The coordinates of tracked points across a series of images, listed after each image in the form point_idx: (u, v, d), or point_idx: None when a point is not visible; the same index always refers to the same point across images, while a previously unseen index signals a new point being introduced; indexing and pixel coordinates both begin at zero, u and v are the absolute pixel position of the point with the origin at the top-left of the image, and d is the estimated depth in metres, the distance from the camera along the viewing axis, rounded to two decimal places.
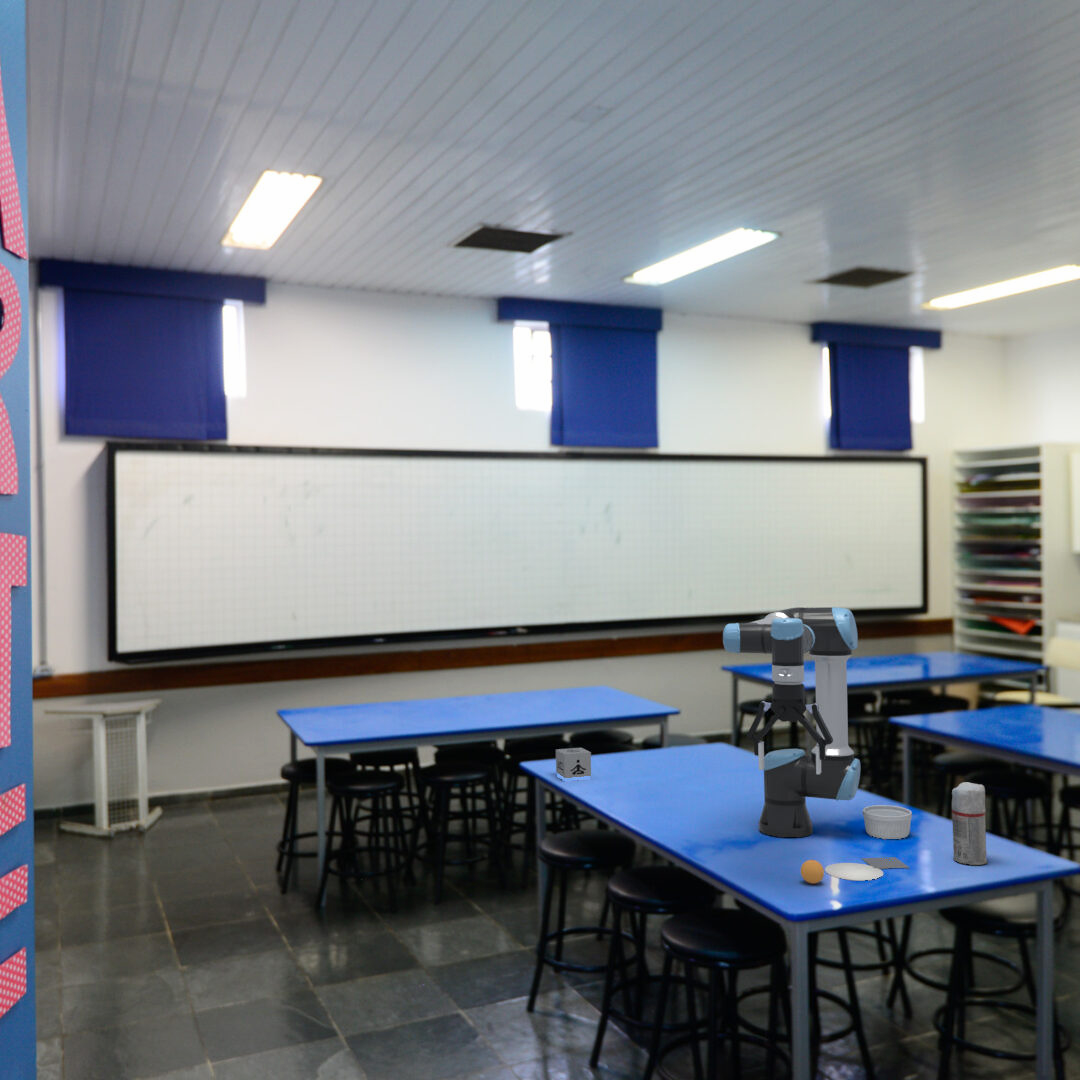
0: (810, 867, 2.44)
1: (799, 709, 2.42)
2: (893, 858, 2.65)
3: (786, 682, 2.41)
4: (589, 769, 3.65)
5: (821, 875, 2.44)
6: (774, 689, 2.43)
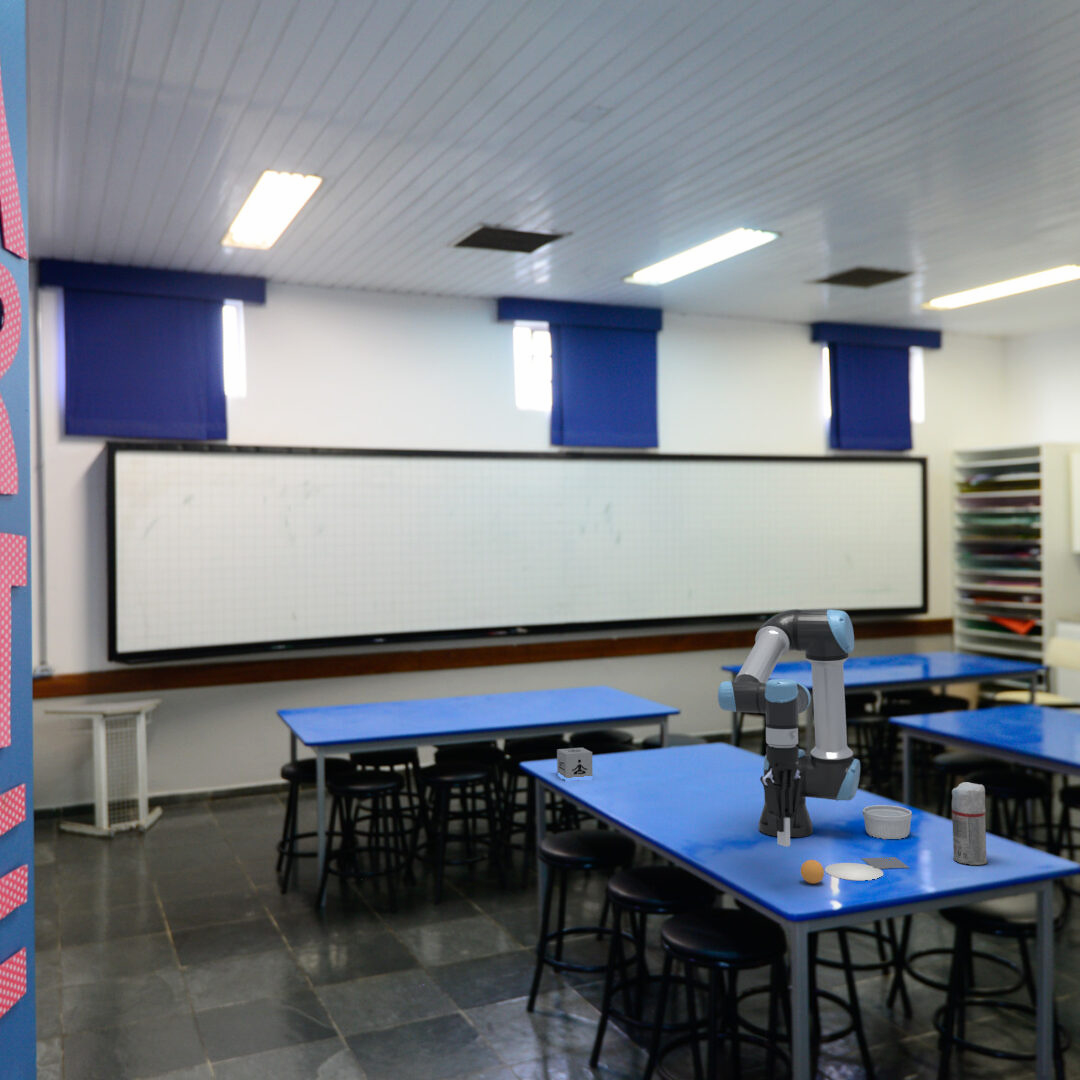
0: (810, 867, 2.44)
1: (794, 770, 2.42)
2: (893, 858, 2.65)
3: (793, 745, 2.39)
4: (590, 769, 3.65)
5: (821, 875, 2.44)
6: (782, 753, 2.38)
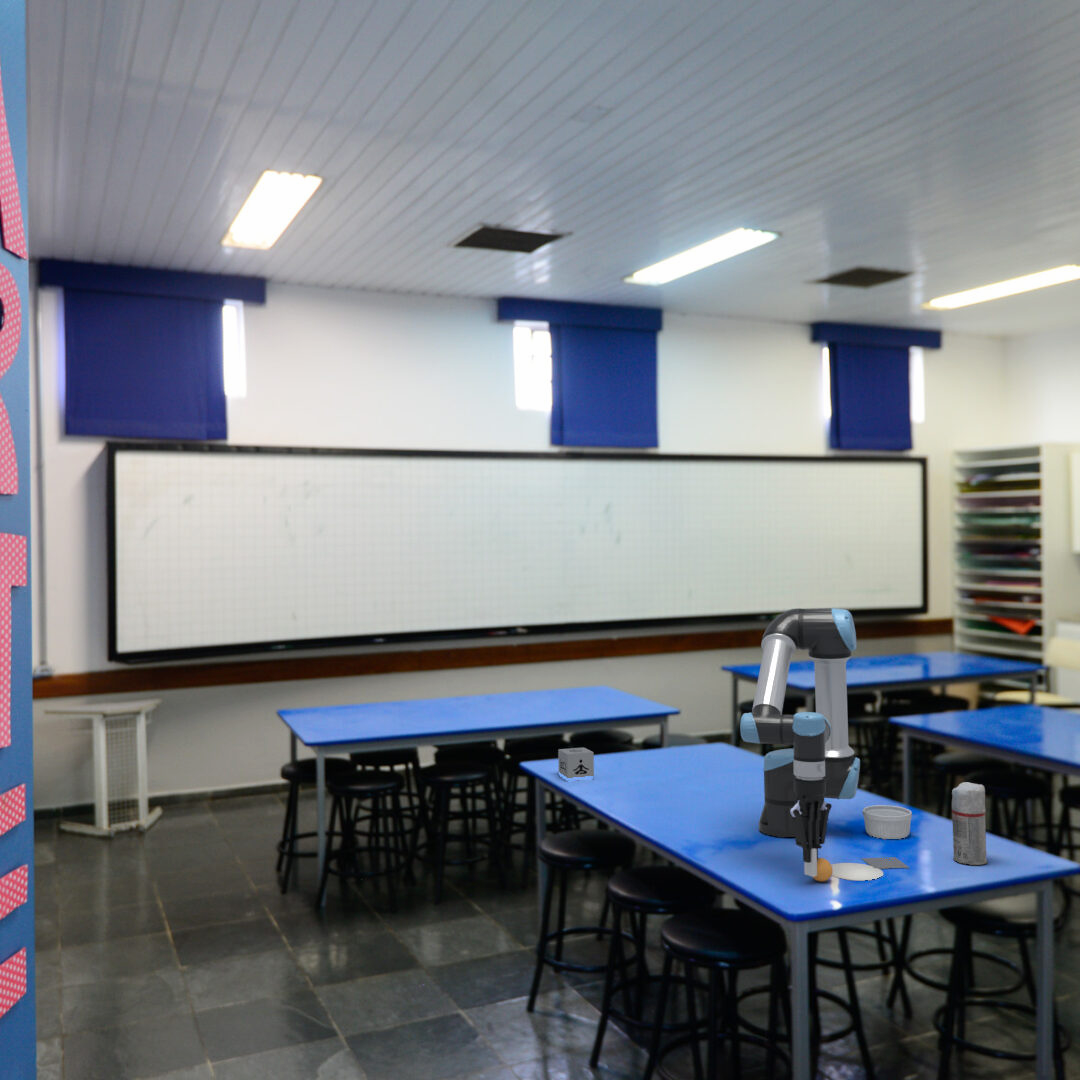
0: (821, 861, 2.46)
1: (821, 802, 2.47)
2: (893, 858, 2.65)
3: (820, 777, 2.44)
4: (592, 769, 3.66)
5: (829, 874, 2.46)
6: (810, 786, 2.43)
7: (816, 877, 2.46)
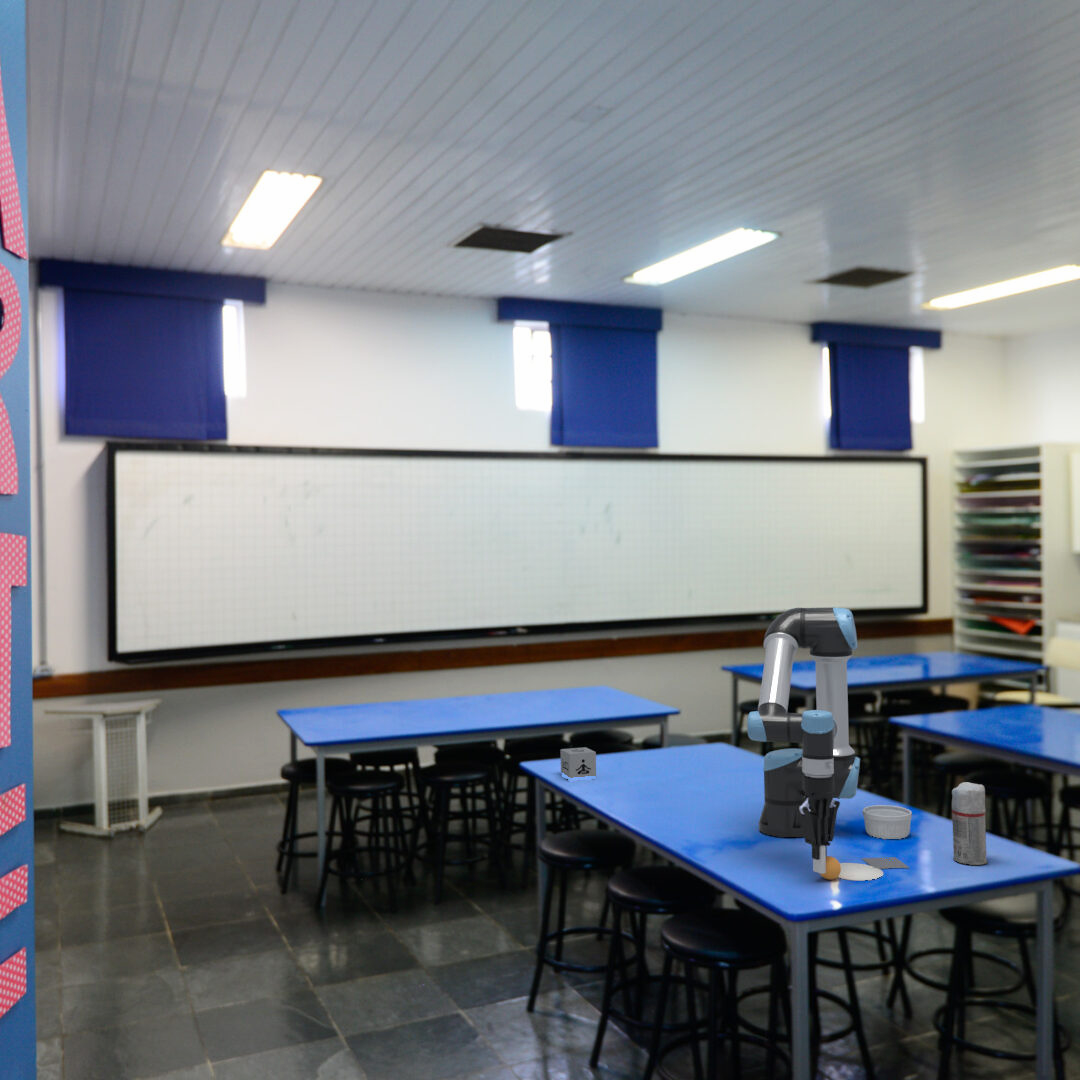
0: (832, 859, 2.48)
1: (829, 799, 2.49)
2: (893, 858, 2.65)
3: (829, 775, 2.46)
4: (594, 769, 3.66)
5: (837, 872, 2.47)
6: (819, 783, 2.45)
7: (824, 873, 2.47)
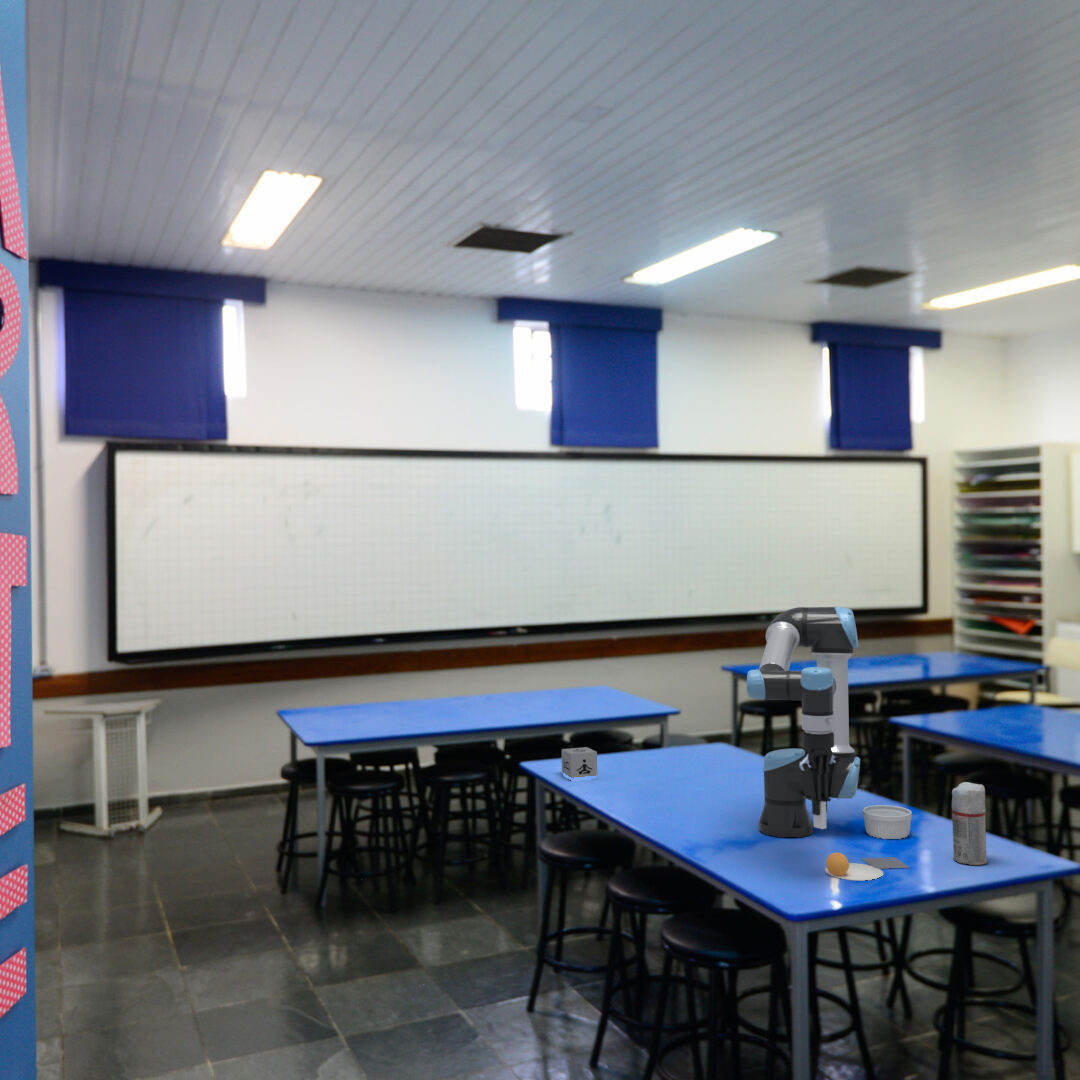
0: None
1: (829, 755, 2.49)
2: (893, 858, 2.65)
3: (829, 731, 2.46)
4: (595, 769, 3.66)
5: (846, 864, 2.50)
6: (818, 739, 2.45)
7: (835, 855, 2.51)
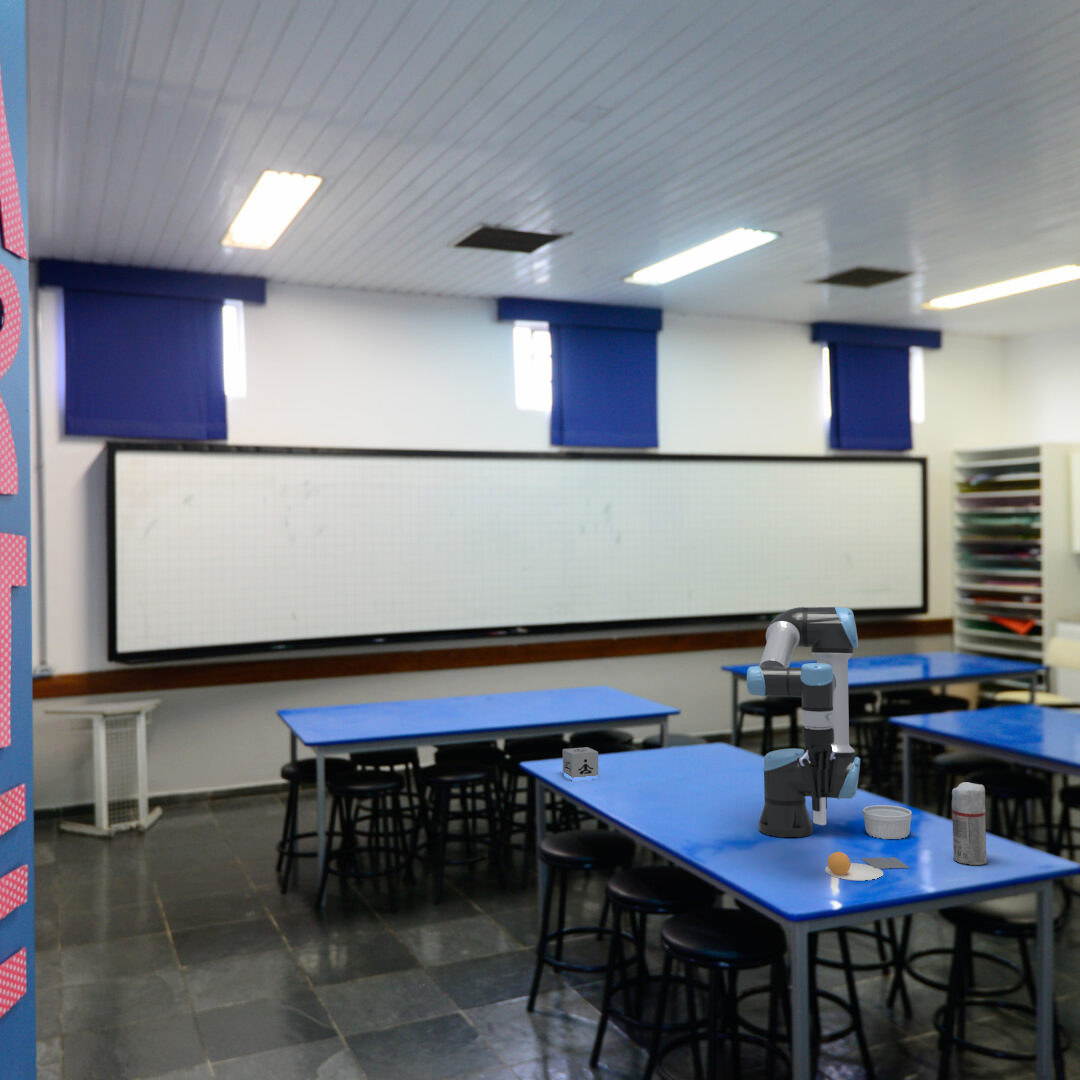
0: None
1: (829, 751, 2.49)
2: (893, 858, 2.65)
3: (829, 727, 2.46)
4: (596, 768, 3.66)
5: (848, 863, 2.51)
6: (818, 735, 2.45)
7: (838, 852, 2.52)
